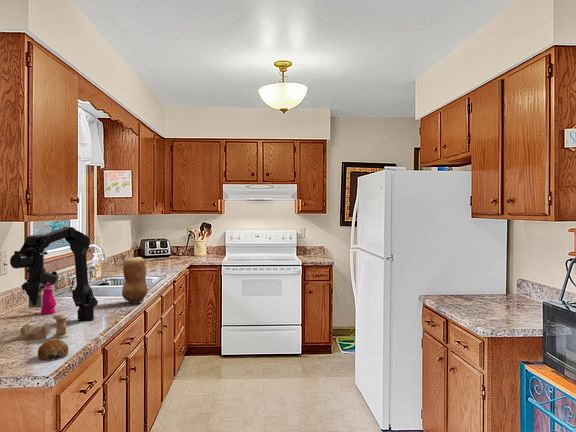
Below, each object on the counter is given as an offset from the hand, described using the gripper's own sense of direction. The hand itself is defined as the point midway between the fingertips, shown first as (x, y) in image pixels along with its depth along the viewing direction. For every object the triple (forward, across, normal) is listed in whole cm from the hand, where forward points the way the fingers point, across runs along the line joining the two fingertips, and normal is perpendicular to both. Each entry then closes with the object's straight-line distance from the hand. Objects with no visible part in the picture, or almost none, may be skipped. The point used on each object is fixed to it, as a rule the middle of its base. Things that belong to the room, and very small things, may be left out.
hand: (35, 304), depth 209 cm
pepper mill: (+12, +44, +4) cm, 46 cm away
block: (+1, 0, 0) cm, 1 cm away
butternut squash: (+11, +62, -36) cm, 72 cm away
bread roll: (+13, -33, -13) cm, 38 cm away
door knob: (+13, -4, -11) cm, 17 cm away
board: (+13, 0, 0) cm, 13 cm away
